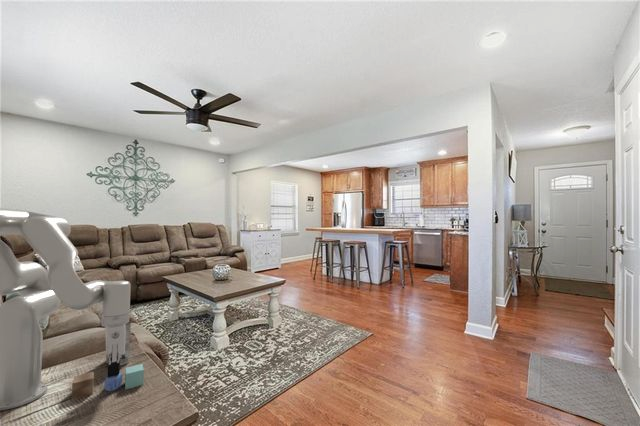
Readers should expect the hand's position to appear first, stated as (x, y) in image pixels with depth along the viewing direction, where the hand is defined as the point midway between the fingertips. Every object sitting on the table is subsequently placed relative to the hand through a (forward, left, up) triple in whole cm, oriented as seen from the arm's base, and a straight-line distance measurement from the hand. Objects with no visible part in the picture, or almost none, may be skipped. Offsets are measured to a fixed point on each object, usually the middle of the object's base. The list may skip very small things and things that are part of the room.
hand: (113, 374), depth 93 cm
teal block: (+5, +3, -4) cm, 7 cm away
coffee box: (-13, +16, -4) cm, 21 cm away
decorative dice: (0, 0, -4) cm, 4 cm away
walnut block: (-7, -4, -4) cm, 9 cm away
